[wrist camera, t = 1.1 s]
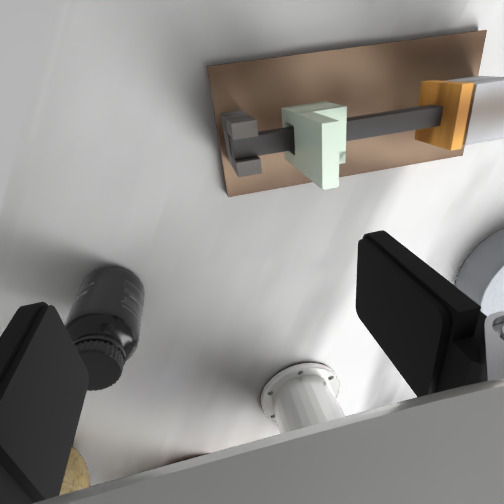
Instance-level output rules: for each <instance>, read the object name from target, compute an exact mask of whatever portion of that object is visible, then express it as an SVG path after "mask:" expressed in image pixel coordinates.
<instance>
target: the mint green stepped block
mask: <svg viewBox="0 0 504 504" xmlns="http://www.w3.org/2000/svg"><path fill="white" fill-rule="evenodd" d="M281 111H282V126H283V128H284V127H291V126H294V140H295V150H291V151H285V152H284V157H285V159H286V160H287V161H288V162H290V163H291V164H292V165H293V166H294V167H296V168H297V169H298V170H299V171H300V172H302V173H303V174H304V175H305V176H306V177H308V178H309V179H310V180H311V181H312V182H314V183H315V184H316V185H317V186H318V187H320V188H321V189H322V190H325V189H330V188H336V187H339V164H342V163H345V162H346V121H347V106H343V105H339V104H335V103H330V102H326V101H323V102H316V103H310V104H303V105H296V106H290V107H283V108H281Z"/></svg>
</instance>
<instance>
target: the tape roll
mask: <svg viewBox="0 0 504 504" xmlns="http://www.w3.org/2000/svg"><path fill="white" fill-rule="evenodd" d="M455 287H457V288H458V289H459V290H461V291H462V292H463V293H464V294H466V295H467V296H468V297H470V298H471V299H472V300H473V301H475V302H476V303H477V304H478V305H480V306H481V310H480V311H481V312H482V313H484V314H485V315H486V316H487V317H488V316H489V315H490V314H493V313H496V312H500V311H504V228H503V229H501V230H499V231H497V232H495V233H494V234H492V235H491V236H489V237H488V238H486V239H485V240H484V241H483V242H482V243H480V244H479V245H478V246H477V247H476V248H475V249H474V250H473V251H472V253H471V254H470V255H469V256H468V258H467V259H466V260H465V262H464V263H463V265H462V267H461V269H460V271H459V273H458V276H457V279H456V284H455Z"/></svg>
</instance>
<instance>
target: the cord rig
mask: <svg viewBox="0 0 504 504" xmlns="http://www.w3.org/2000/svg"><path fill="white" fill-rule="evenodd" d="M486 32H487V30H482V31H474V32H466V33H458V34H451V35H443V36H435V37H428V38H420V39H412V40H405V41H397V42H389V43H382V44H374V45H366V46H359V47H351V48H343V49H336V50H328V51H321V52H313V53H305V54H298V55H290V56H282V57H275V58H267V59H259V60H252V61H244V62H236V63H229V64H221V65H213V66H207V69H208V75H209V82H210V88H211V95H212V101H213V108H214V114H215V120H216V127H217V133H218V140H219V146H220V153H221V159H222V165H223V172H224V178H225V185H226V191H227V195H228V197H232V196H237V195H243V194H248V193H254V192H260V191H265V190H271V189H277V188H282V187H288V186H293V185H299V184H305V183H310V182H312V181H311V180H310V179H309V178H308V177H306V176H305V175H304V174H303V173H302V172H300V171H299V170H298V169H297V168H296V167H294V166H293V165H292V164H291V163H290V162H288V161H287V160H286V159H285V157H284V152H285V151H291V150H295V140H294V126H291V127H284V128H283V126H282V111H281V108H283V107H290V106H296V105H303V104H310V103H316V102H323V101H326V102H330V103H335V104H339V105H343V106H347V121H346V162H345V163H342V164H339V177H344V176H350V175H355V174H361V173H366V172H372V171H378V170H383V169H389V168H394V167H400V166H406V165H411V164H417V163H423V162H428V161H434V160H439V159H445V158H451V157H456V156H462V155H463V151H464V146H465V145H469V144H475V143H481V142H486V141H492V140H498V139H504V77H488V76H478V73H479V68H480V63H481V58H482V53H483V47H484V42H485V37H486Z"/></svg>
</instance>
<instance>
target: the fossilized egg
mask: <svg viewBox="0 0 504 504" xmlns="http://www.w3.org/2000/svg"><path fill="white" fill-rule="evenodd" d="M87 487H90V482H89V473H88V469H87V466H86V463H85V461H84V460H83V458H82V456H81V455H80V454H79V452H78V451H77V450H75V449H74V448H73V447H72V448H71V452H70V456H69V460H68V464H67V467H66V471H65V475H64V479H63V483H62V486H61V490H60V494H59V495H63V494H66V493H70V492H73V491H77V490H80V489H84V488H87Z"/></svg>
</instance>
